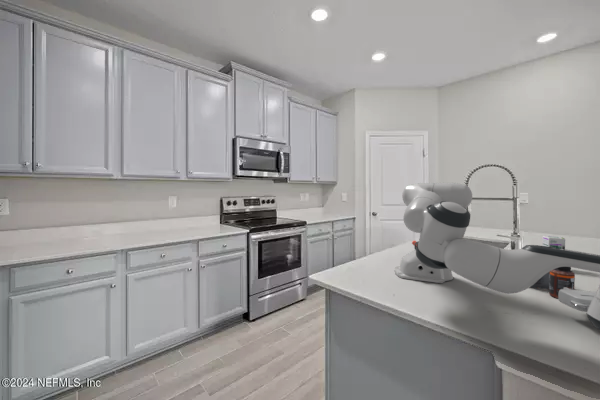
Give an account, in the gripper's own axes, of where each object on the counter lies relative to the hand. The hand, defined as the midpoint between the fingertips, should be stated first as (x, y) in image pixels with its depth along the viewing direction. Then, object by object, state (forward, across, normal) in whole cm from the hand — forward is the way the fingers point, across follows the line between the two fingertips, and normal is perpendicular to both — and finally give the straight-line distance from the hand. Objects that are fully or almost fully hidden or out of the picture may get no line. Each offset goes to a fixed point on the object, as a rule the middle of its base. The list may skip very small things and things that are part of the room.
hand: (584, 291), depth 78 cm
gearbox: (+23, -2, -6) cm, 24 cm away
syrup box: (+45, +19, -6) cm, 49 cm away
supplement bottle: (+9, 0, -6) cm, 11 cm away
